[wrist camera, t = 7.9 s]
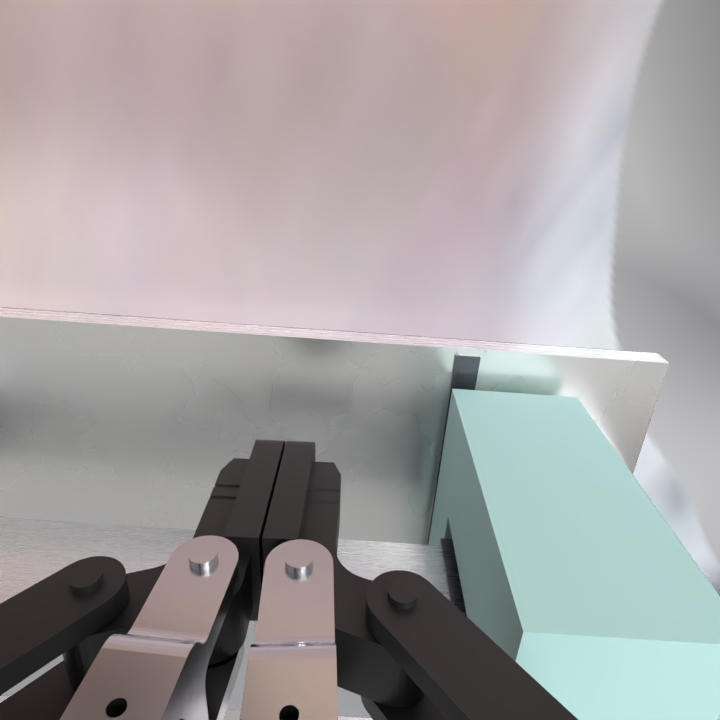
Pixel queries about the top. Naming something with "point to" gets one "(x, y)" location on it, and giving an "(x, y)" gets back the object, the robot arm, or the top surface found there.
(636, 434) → the grey piece
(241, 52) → the top surface
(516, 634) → the collar
